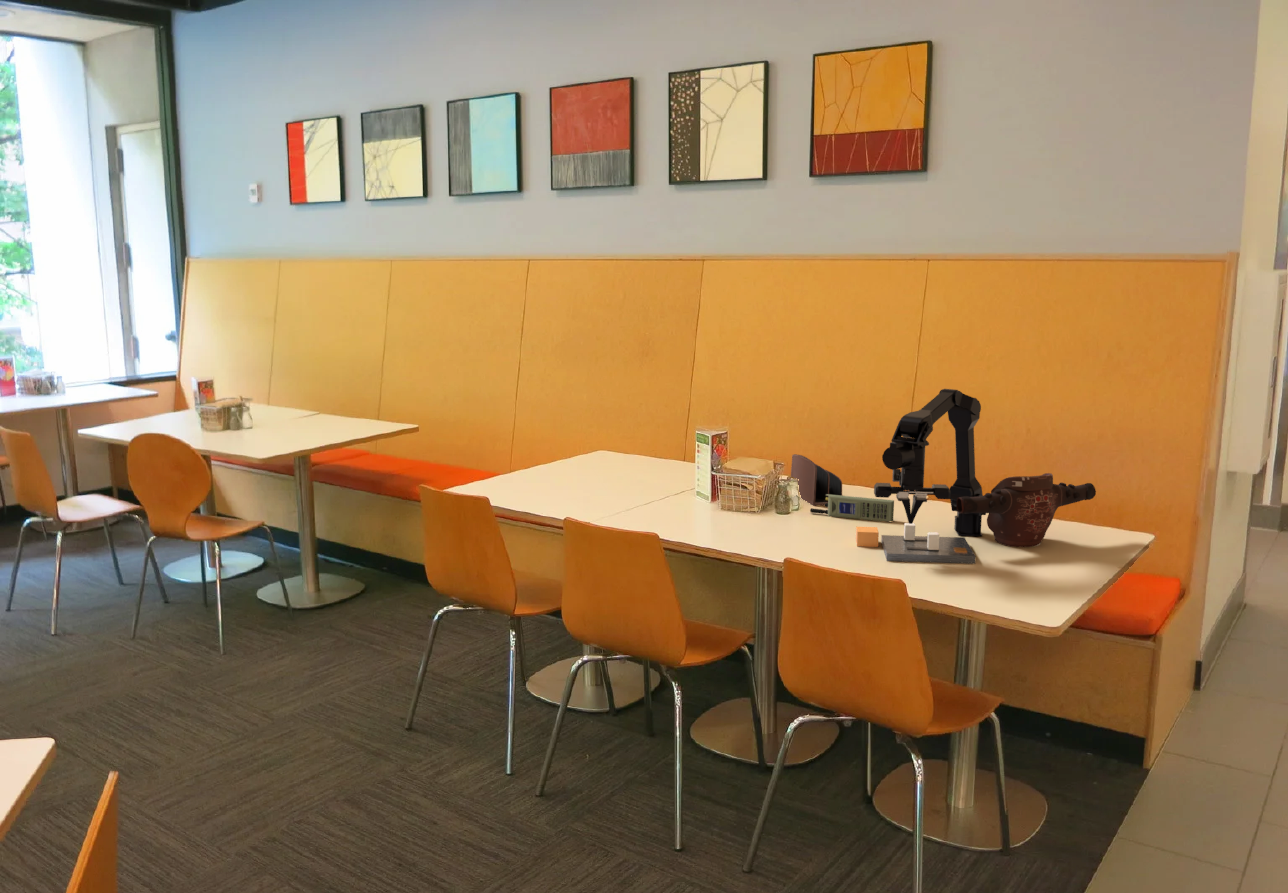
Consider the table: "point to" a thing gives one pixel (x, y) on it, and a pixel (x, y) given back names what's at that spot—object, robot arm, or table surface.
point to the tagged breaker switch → (933, 541)
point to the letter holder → (814, 481)
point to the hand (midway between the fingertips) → (910, 523)
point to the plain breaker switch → (909, 531)
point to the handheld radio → (858, 508)
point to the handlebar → (1024, 507)
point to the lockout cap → (867, 536)
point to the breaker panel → (918, 551)
